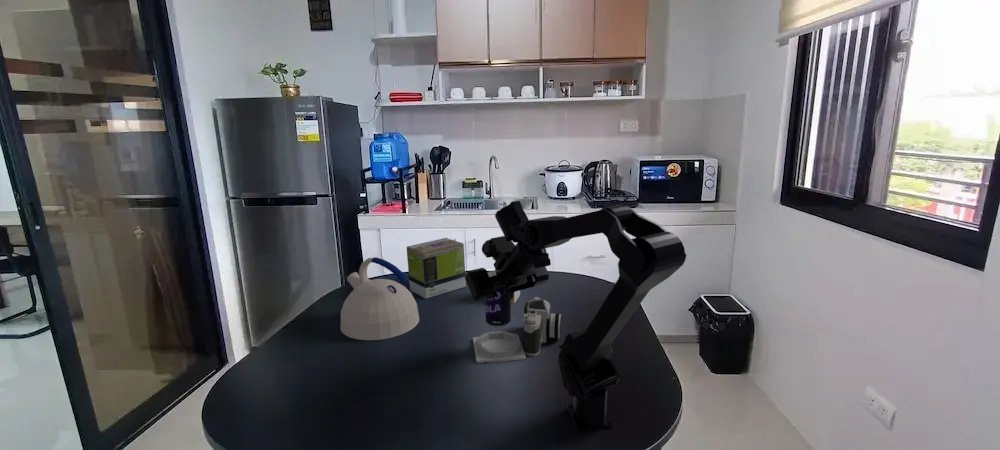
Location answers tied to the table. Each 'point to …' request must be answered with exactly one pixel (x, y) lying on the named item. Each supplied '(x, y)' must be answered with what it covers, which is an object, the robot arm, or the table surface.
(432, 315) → the table surface
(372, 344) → the table surface
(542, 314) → the camera
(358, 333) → the kettle
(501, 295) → the beverage can
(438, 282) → the tea box
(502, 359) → the mount
